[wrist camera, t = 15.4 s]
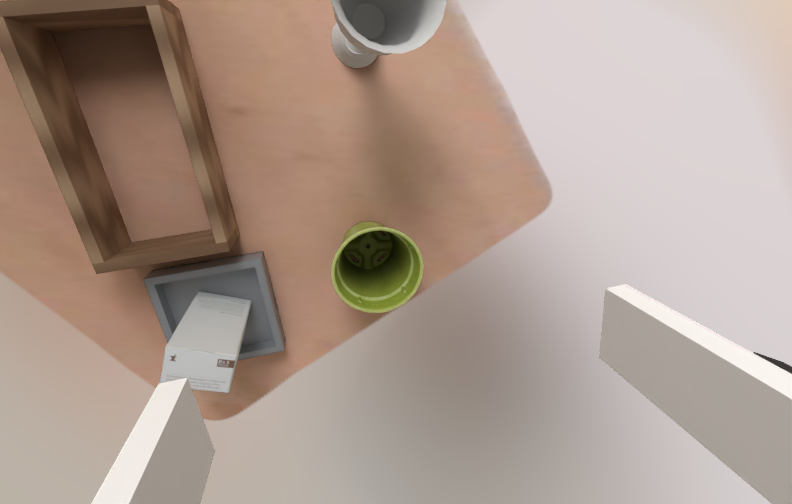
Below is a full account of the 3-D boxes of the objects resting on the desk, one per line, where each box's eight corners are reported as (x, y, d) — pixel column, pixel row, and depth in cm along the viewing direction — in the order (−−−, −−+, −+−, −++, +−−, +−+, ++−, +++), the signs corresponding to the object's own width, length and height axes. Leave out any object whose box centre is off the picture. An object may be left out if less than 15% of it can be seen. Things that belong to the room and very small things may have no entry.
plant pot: (368, 294, 50) (380, 329, 42) (311, 249, 46) (311, 277, 38) (419, 241, 49) (441, 267, 41) (365, 191, 45) (376, 207, 37)
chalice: (310, 57, 39) (310, 16, 23) (334, -13, 38) (353, -111, 21) (376, 89, 42) (419, 74, 25) (401, 25, 40) (465, -37, 24)
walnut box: (34, 20, 34) (-20, 2, 29) (178, 8, 36) (154, -10, 30) (124, 252, 42) (96, 273, 36) (239, 233, 44) (229, 251, 38)
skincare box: (192, 322, 45) (153, 390, 34) (198, 287, 44) (160, 346, 33) (247, 330, 47) (228, 398, 36) (255, 297, 46) (237, 356, 35)
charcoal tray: (152, 270, 43) (143, 279, 41) (263, 251, 45) (260, 258, 43) (185, 360, 47) (178, 372, 45) (285, 339, 49) (284, 350, 47)
